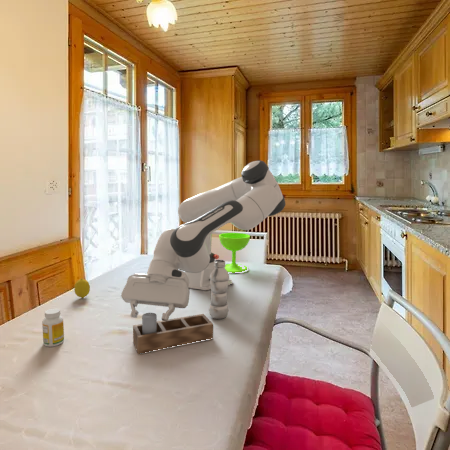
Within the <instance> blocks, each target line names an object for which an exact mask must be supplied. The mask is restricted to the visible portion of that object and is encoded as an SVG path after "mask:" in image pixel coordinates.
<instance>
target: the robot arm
mask: <svg viewBox="0 0 450 450" xmlns="http://www.w3.org/2000/svg"><path fill="white" fill-rule="evenodd" d="M269 168H270V167H269V165H268V164H267V163H266V162H265V161H264V160H261V159H257V160H254V161H251V162H249V163H247V164H246V165H245V166H244V167H243V168H242V170H241V176H240V177H237V178H235V179H233V180H230V181H228V182H226V183H223V184H222V185H219V186H217V187H214V188H212V189H209V190H206V191H203V192H201V193H198V194H197V195H194V196H192V197H189V198H187V199H185V200H184V201H182V202H181V203H180V204H179V206H178V209H177V214H178V216H179V219H180V220H181V222H183V224H180V225H179V226H177V227H176V228H169V229H166V230H164V231H163V232H162V233H161V234H160V236H159V238H158V240H157V241H156V244H155V247H154V250H153V257H152V259H151V261H150V262H149V267H148V269H147V273H146V274H145V273H133V274H131V275H129V276H128V277H127V279H126V283H125V286H123V289H122V291H121V294H120V297H121V299H122V300H123V302H125V303H127V304H128V303H129V305H130V309H131V312H130V317H131V318H132V319H133V318H135V319H137V318H138V315H139V311H138V310H137V309H136V308H137V307H138V305H146V306H155V307H167V308H168V309H167V311H166V312H163V313H162V314H161V315H162V316H161V321H168V319H170V316H171V315H172V314H173V313H174V312H175V309H178V308H179V309H186V308H187V307H188V306H189V303H190V302H189V301H190V291H191V290H190V289H194V290H195V289H197V290H201V291H209V290H210V291H211V282H210V275H211V272H212V271H213V270H214V268H215V267H214V261H215V260H219V259H220V256H219V255H218V254H217V253H216V254H215V253H213V252H212V240H213V239H212V236H213V233H214V232H216V231H217V230H219V229H221V228H222V227H224V226H225V225H228V224H231V225H233V226H234V227H235V228H237V229H238V230H241V231H250V230H252V229H254V228H255V227H257V226H258V225H260V224H261V223H262V222H263V221H264V220H265V219H267V217H272V216H275V215H278V214H279V213H281V212H282V211H283V210H284V209H285V207H286V199H285V196H284V195H283V193H282V190H281V188H280V185H279V183H278V181H277V180H276V178H275V177H274V175H273V173H272V172H271V170H270V169H269ZM232 283H233V279H232V278H230V277H229V282H228V286H231V285H230V284H232ZM233 284H234V283H233ZM233 284H232V285H233Z"/></svg>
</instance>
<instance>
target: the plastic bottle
mask: <svg viewBox="0 0 450 450" xmlns="http://www.w3.org/2000/svg"><path fill="white" fill-rule="evenodd" d="M225 264H226V260H224V259H215V261H214V267H215V268H214V270H213V271H212V272H211V275H210V282H211V289H210V291H211V293H210V296H211V297H210V303H209V307H208V313H209V314H208V315H209V316H210V317H211V318H212V319H214V320H221V319H225V318H226V317H227V316H228V314H229V305H228V289H229V288H228V287H229V285H228V282H229V278H230V274H228V272H227V270H226V269H225V267H226V265H225Z"/></svg>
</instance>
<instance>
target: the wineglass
mask: <svg viewBox="0 0 450 450" xmlns="http://www.w3.org/2000/svg"><path fill="white" fill-rule="evenodd" d="M218 238H219V242H220V245H221V246H223V248H225V249H226V250H228V251H231V262H230V263H227V264H226V263H225V265H226V267H225V269H226V270H227V272H232V273H235V272H242V271H245V270H247V265H244V267H245V269H242V267H240V266H238V264H239V263H238V264H237V263H236V261H237V259H236V257H237V252H238V251H241V250H243V249H245V248H246V246H248V244H249V242H250V239H251V235H250V234H247V233H243V232H223V233H220V234H218Z"/></svg>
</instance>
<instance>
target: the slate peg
mask: <svg viewBox="0 0 450 450" xmlns="http://www.w3.org/2000/svg"><path fill="white" fill-rule="evenodd" d="M157 315H158V314H157V313H154V312H146V313H143V314H142V315H141V319H142V320H141V324H142V335H145V334H151V333H156V332H157V321H158V319H157V317H158V316H157Z"/></svg>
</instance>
